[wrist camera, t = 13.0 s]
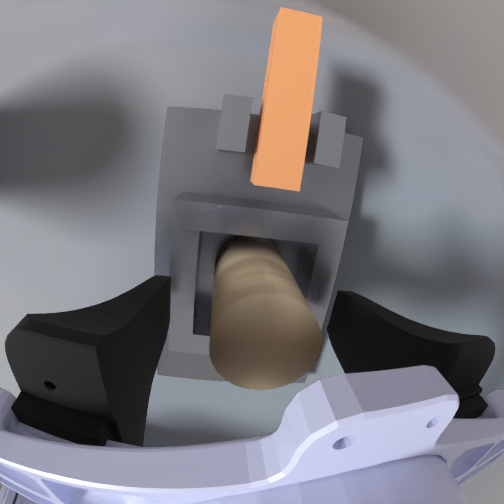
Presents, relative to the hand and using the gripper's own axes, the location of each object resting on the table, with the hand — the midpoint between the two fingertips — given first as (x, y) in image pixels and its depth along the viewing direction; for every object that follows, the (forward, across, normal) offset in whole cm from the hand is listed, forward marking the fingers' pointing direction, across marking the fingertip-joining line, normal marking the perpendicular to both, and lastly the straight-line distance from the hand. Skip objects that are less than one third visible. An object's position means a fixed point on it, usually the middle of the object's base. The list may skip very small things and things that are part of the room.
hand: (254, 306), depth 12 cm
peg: (+4, 0, 0) cm, 4 cm away
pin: (+1, 0, -8) cm, 8 cm away
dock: (+5, 0, 0) cm, 5 cm away
